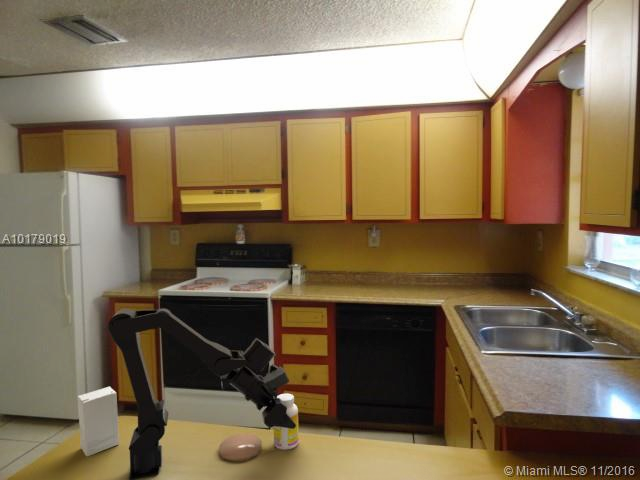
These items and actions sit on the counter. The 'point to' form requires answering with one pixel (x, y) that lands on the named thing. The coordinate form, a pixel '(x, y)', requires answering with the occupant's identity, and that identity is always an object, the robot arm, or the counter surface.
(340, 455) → the counter surface
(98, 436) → the skincare box
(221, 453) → the terracotta round disc
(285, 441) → the supplement bottle
